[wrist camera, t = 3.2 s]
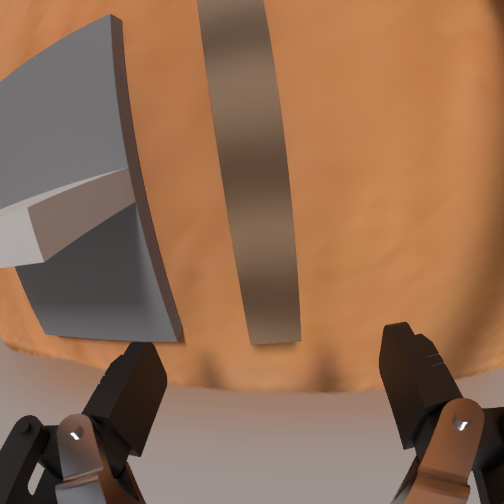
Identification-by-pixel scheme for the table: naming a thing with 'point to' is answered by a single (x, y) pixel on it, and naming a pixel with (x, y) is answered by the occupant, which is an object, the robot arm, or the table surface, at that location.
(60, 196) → the stand
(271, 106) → the walnut bar
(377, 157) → the table surface
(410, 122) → the table surface
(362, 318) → the table surface
